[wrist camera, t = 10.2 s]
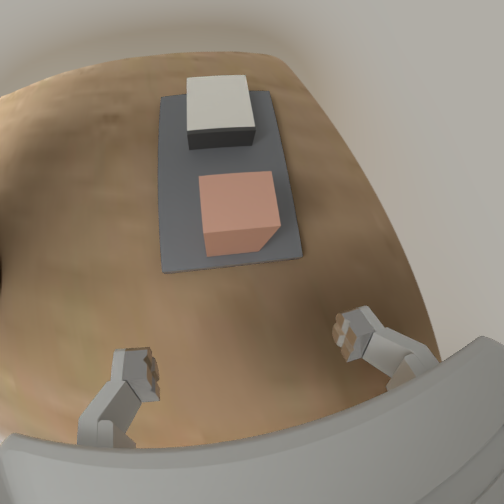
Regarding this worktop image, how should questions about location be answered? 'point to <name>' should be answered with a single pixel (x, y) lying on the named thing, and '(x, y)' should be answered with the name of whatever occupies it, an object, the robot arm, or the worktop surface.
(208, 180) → the salmon pink rectangular block
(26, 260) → the worktop surface
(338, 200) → the worktop surface
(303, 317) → the worktop surface
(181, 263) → the stand
